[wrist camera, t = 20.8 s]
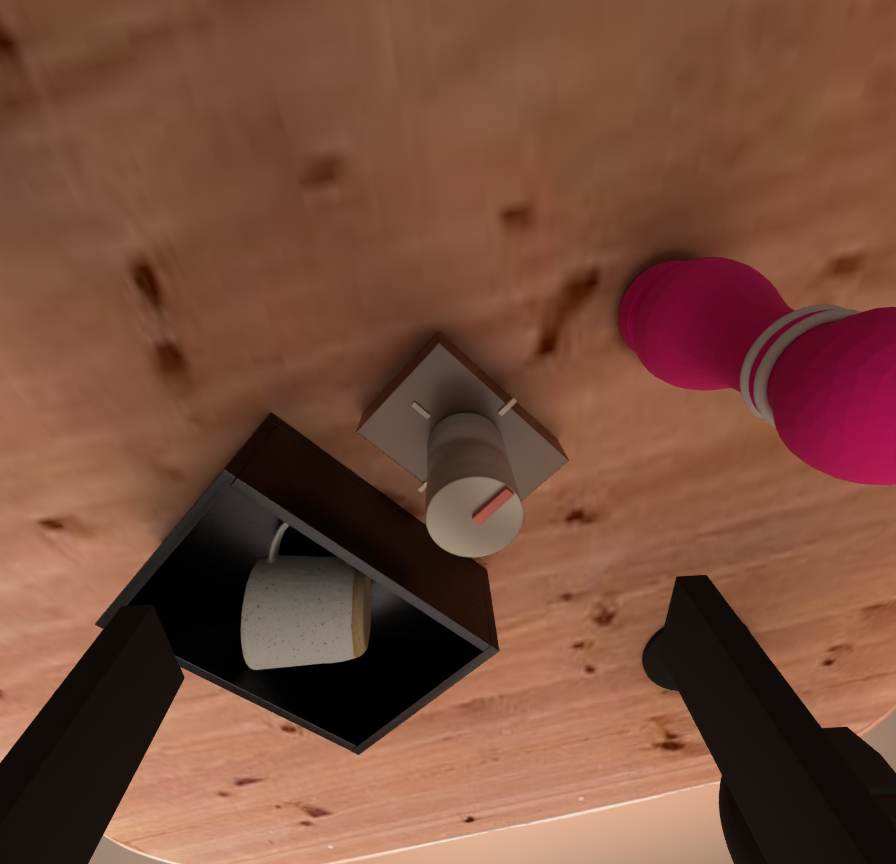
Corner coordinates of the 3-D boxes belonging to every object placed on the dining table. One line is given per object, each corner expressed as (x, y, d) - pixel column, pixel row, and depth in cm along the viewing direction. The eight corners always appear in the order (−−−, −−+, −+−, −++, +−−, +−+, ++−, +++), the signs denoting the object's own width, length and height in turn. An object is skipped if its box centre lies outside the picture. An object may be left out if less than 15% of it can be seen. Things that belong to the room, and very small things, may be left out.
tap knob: (466, 492, 32) (476, 577, 24) (411, 449, 30) (404, 526, 23) (518, 444, 30) (546, 519, 23) (463, 397, 29) (473, 460, 21)
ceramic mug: (377, 606, 39) (365, 690, 32) (280, 609, 39) (246, 693, 32) (368, 500, 34) (352, 570, 28) (259, 502, 34) (214, 573, 27)
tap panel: (357, 419, 33) (349, 439, 30) (444, 324, 30) (445, 335, 27) (476, 512, 36) (480, 538, 33) (564, 435, 34) (576, 455, 31)
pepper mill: (739, 261, 29) (1258, 338, 11) (696, 370, 32) (1043, 575, 14) (629, 243, 28) (982, 291, 10) (596, 356, 31) (821, 551, 13)
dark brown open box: (160, 544, 37) (93, 624, 30) (271, 412, 32) (224, 468, 25) (371, 665, 43) (358, 755, 36) (487, 570, 39) (499, 651, 32)
